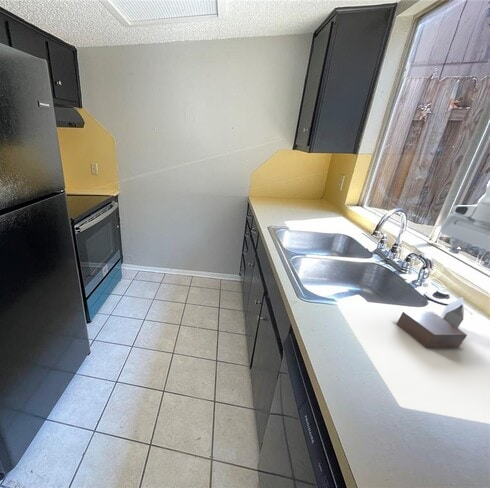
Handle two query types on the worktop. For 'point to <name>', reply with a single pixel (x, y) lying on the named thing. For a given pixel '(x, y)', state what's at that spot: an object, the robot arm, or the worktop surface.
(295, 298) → the worktop surface
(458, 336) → the walnut block
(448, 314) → the white milk carton
